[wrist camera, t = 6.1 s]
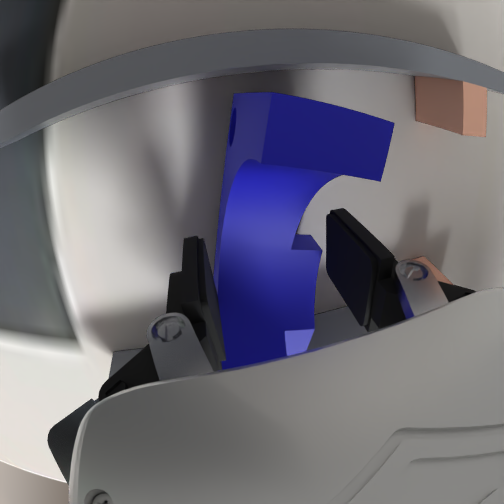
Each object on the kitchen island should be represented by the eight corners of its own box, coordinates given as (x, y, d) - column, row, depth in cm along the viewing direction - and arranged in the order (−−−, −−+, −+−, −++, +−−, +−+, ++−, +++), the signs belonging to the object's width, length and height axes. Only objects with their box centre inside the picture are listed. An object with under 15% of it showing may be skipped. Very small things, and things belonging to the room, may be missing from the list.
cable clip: (286, 325, 17) (318, 410, 12) (209, 327, 16) (222, 422, 11) (337, 112, 11) (435, 138, 6) (233, 93, 10) (272, 91, 5)
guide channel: (464, 67, 11) (508, 74, 8) (436, 288, 19) (461, 317, 16) (14, 117, 9) (-31, 131, 6) (120, 362, 17) (115, 405, 14)
